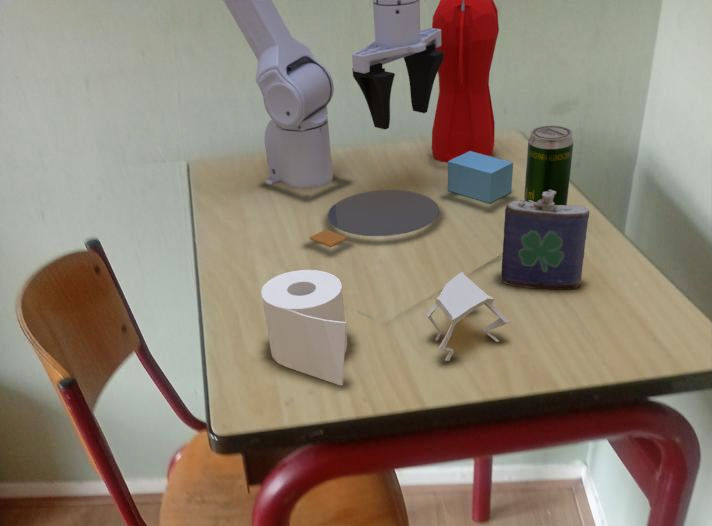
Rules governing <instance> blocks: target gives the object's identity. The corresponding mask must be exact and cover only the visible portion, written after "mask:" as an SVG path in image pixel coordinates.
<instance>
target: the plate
mask: <svg viewBox="0 0 712 526" xmlns="http://www.w3.org/2000/svg"><path fill="white" fill-rule="evenodd" d="M439 213H440V207H439V205H438V204H437V203H436V202H435V201H434V199H432V198H430V197H428V196H427V195H425V194H421V193H418V192H413V191H409V190H401V189H380V190H371V191H370V190H369V191H364V192H360V193H356V194H353V195H350V196H347V197H345V198H343V199H341V200H339V201H338V202H337V201H336V203H335V204H333V205H332V206H331V207H330V209H329V211H328V213H327V219H328V221H329V222H330V223H331V225H332V226H333V227H334V228H336V229H338V230H339V231H343V232H345V233H348V234H352V235H356V236H364V237H390V236H391V237H392V236H398V235H403V234H408V233H412V232H415V231H418V230H420V229H422V228H425V227H427V226H429V225H430V224H431V223H433V222H434V221H435V220H436V219H437V218H438V216H439Z"/></svg>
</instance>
